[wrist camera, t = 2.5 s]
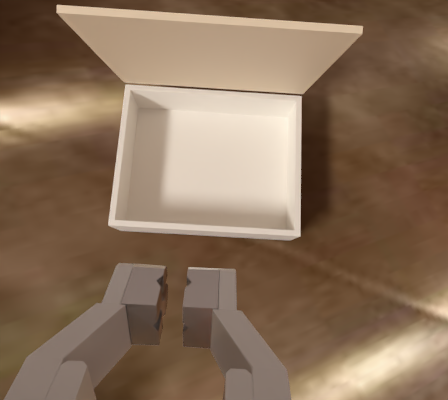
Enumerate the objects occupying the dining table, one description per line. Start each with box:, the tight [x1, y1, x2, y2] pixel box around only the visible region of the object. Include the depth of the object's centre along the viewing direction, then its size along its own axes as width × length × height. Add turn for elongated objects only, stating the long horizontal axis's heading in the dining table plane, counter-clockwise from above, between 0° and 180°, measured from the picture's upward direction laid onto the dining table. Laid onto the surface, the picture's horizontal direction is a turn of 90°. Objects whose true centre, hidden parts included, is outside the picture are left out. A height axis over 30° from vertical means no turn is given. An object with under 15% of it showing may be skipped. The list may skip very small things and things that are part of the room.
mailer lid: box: [57, 5, 363, 94], centre depth 30 cm, size 16×20×1 cm
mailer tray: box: [108, 85, 302, 240], centre depth 40 cm, size 16×20×5 cm
